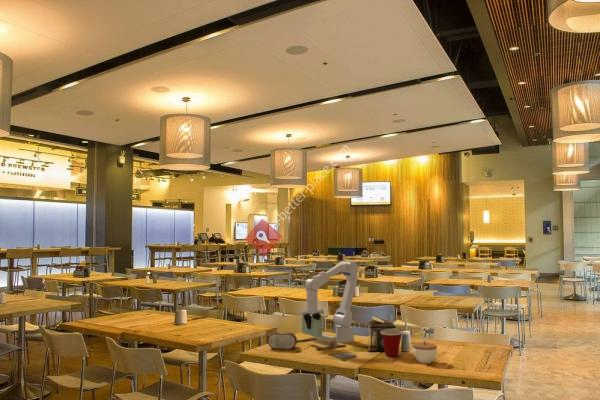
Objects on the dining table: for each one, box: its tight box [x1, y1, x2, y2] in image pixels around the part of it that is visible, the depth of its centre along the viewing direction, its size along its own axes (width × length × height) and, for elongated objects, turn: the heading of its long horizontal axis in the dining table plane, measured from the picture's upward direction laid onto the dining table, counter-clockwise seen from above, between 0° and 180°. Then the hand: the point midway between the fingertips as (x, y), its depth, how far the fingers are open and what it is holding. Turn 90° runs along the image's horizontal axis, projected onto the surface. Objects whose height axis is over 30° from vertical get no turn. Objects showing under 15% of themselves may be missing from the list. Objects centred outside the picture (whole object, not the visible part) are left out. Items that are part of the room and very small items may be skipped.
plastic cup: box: [379, 328, 403, 358], centre depth 248 cm, size 11×11×12 cm
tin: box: [267, 331, 298, 350], centre depth 262 cm, size 15×3×8 cm, turn 84°
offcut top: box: [318, 333, 337, 342], centre depth 271 cm, size 4×10×2 cm, turn 39°
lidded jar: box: [412, 340, 438, 364], centre depth 236 cm, size 11×11×9 cm
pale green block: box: [301, 316, 323, 338], centre depth 266 cm, size 3×14×8 cm, turn 33°
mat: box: [328, 351, 357, 360], centre depth 250 cm, size 9×17×1 cm, turn 33°
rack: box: [297, 337, 347, 351], centre depth 268 cm, size 18×23×2 cm
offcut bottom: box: [315, 337, 338, 346], centre depth 271 cm, size 5×12×2 cm, turn 33°
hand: (311, 328), depth 266 cm, fingers closed on pale green block, 3 cm apart
